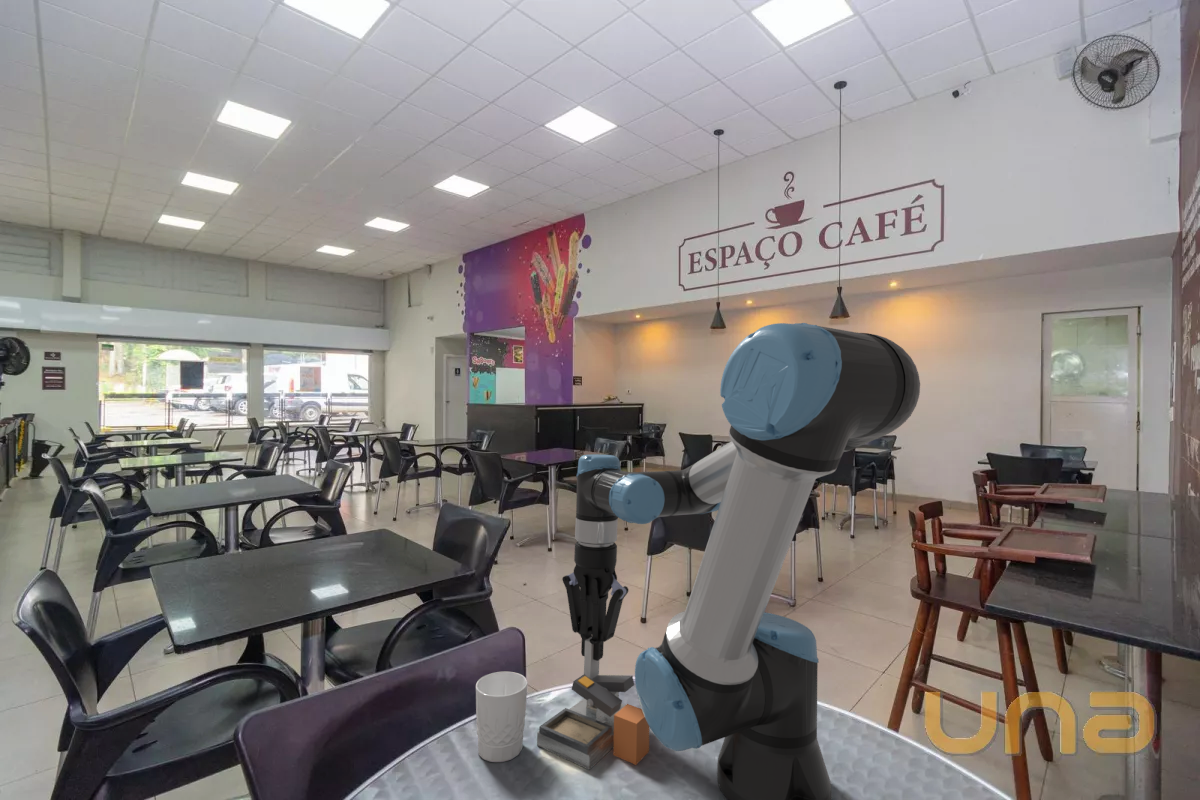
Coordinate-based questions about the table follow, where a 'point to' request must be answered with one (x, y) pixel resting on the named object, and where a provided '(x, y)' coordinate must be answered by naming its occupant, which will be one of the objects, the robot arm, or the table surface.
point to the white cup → (500, 715)
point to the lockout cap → (630, 734)
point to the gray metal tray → (579, 734)
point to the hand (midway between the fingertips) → (591, 675)
